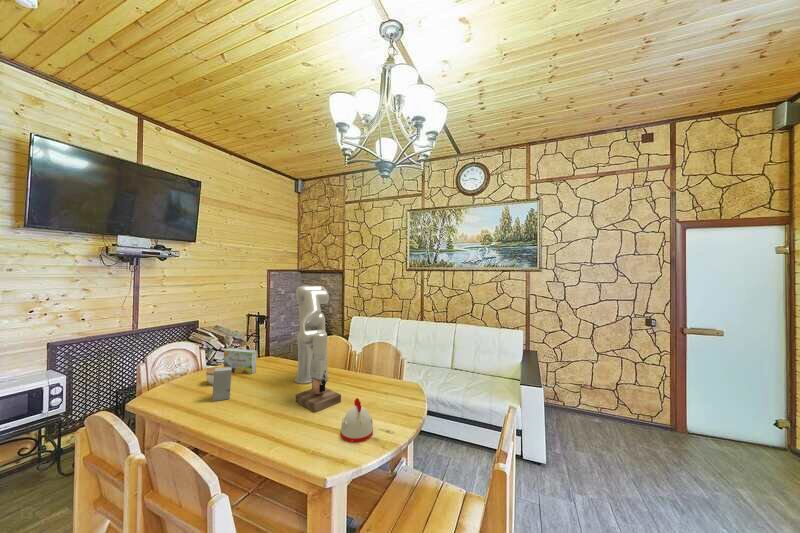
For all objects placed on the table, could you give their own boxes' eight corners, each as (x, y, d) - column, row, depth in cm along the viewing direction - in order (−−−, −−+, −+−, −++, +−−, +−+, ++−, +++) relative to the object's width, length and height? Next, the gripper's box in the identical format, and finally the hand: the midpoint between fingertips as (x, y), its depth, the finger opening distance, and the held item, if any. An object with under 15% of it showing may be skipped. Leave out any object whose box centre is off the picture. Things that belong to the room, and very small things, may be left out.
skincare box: (211, 402, 157) (212, 371, 157) (213, 396, 163) (214, 367, 163) (230, 399, 161) (231, 369, 161) (230, 394, 167) (231, 365, 167)
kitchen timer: (344, 445, 121) (345, 408, 122) (337, 428, 134) (338, 394, 134) (377, 438, 127) (378, 402, 127) (367, 422, 140) (368, 390, 140)
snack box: (222, 372, 201) (223, 349, 202) (228, 369, 207) (229, 347, 207) (251, 374, 198) (251, 351, 198) (256, 371, 204) (257, 349, 204)
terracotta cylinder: (310, 391, 160) (310, 378, 160) (319, 388, 164) (320, 375, 164) (317, 395, 156) (317, 381, 156) (326, 391, 161) (326, 378, 161)
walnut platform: (295, 401, 160) (295, 394, 160) (320, 392, 172) (320, 385, 172) (315, 412, 148) (315, 404, 148) (340, 402, 160) (341, 394, 161)
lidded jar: (229, 382, 184) (230, 367, 184) (211, 387, 175) (211, 371, 175) (220, 378, 190) (221, 363, 190) (202, 383, 181) (202, 368, 181)
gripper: (304, 354, 163) (303, 387, 163) (323, 361, 152) (322, 396, 152) (315, 351, 169) (314, 383, 169) (335, 358, 158) (334, 392, 158)
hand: (318, 389), depth 160 cm, fingers closed on terracotta cylinder, 5 cm apart
